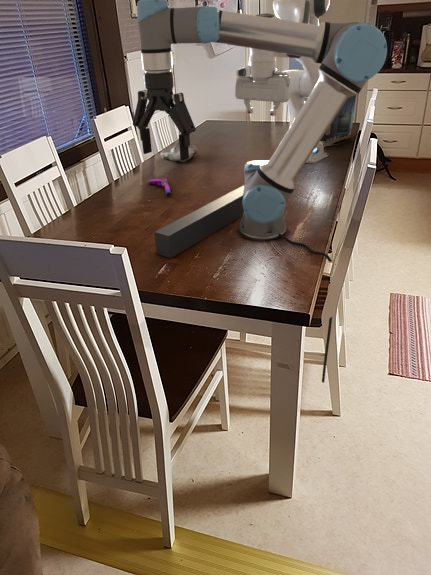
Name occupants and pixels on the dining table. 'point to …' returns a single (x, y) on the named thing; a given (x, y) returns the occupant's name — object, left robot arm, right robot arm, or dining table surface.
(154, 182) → the handgun
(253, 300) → the dining table surface
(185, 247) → the bar
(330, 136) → the router box
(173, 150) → the fossil
